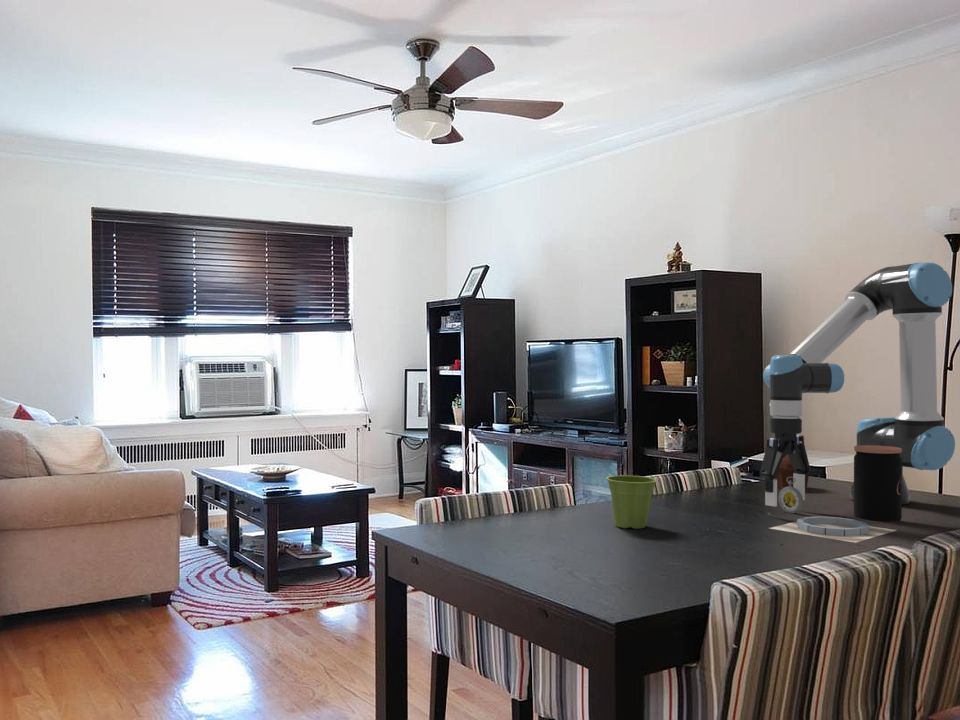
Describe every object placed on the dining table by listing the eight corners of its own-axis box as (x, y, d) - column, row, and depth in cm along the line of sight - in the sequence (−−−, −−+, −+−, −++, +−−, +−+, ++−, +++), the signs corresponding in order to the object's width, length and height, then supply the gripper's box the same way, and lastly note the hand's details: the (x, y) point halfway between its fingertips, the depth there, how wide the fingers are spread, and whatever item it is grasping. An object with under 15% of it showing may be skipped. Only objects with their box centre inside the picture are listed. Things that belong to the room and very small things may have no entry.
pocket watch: (766, 519, 212) (767, 478, 212) (768, 513, 220) (769, 474, 220) (802, 522, 209) (802, 480, 209) (803, 516, 217) (803, 476, 217)
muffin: (805, 492, 255) (805, 458, 255) (767, 489, 262) (767, 456, 262) (814, 487, 265) (814, 454, 265) (777, 484, 271) (777, 452, 271)
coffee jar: (907, 526, 204) (907, 450, 204) (859, 524, 206) (859, 449, 206) (894, 518, 214) (895, 445, 214) (849, 516, 217) (849, 444, 216)
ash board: (812, 521, 209) (812, 517, 209) (896, 534, 194) (896, 530, 194) (768, 532, 196) (768, 528, 196) (855, 547, 181) (855, 542, 181)
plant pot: (645, 533, 194) (646, 483, 194) (597, 527, 201) (597, 479, 201) (664, 525, 204) (664, 477, 204) (617, 519, 211) (617, 473, 211)
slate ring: (817, 520, 205) (817, 514, 205) (879, 529, 194) (879, 523, 194) (785, 528, 196) (785, 521, 196) (849, 538, 185) (849, 531, 185)
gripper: (796, 414, 225) (796, 495, 225) (745, 418, 209) (744, 506, 209) (824, 415, 220) (824, 499, 220) (773, 420, 203) (773, 510, 203)
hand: (785, 502), depth 214 cm, fingers open, 13 cm apart
